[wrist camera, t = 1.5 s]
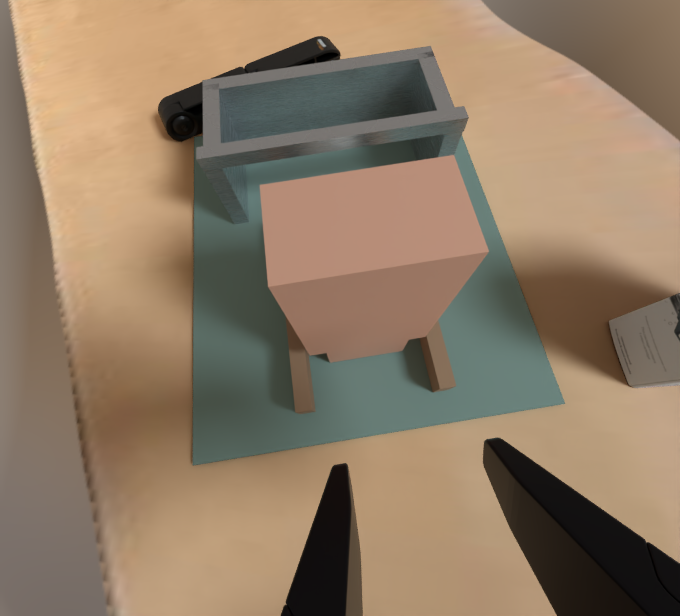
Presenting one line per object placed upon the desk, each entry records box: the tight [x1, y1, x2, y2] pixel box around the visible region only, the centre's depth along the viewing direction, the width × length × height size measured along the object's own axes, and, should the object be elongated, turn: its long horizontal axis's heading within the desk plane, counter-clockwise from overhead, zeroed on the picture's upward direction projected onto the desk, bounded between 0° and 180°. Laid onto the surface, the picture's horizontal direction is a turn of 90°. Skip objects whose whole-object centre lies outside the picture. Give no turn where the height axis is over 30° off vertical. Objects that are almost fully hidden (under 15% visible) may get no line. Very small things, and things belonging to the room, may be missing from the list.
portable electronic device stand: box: [158, 36, 341, 142], centre depth 31 cm, size 18×3×3 cm, turn 118°
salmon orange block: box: [260, 155, 489, 363], centre depth 17 cm, size 4×7×13 cm, turn 99°
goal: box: [196, 46, 469, 224], centre depth 25 cm, size 9×17×7 cm, turn 99°
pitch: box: [193, 135, 565, 465], centre depth 25 cm, size 28×24×2 cm
